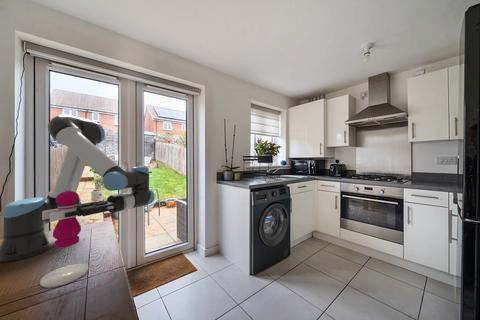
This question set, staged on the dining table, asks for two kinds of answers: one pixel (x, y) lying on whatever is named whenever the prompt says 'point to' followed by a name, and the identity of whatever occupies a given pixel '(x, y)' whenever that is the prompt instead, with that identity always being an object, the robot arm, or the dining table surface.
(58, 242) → the pepper mill
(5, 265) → the dining table surface
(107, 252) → the dining table surface
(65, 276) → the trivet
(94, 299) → the dining table surface
